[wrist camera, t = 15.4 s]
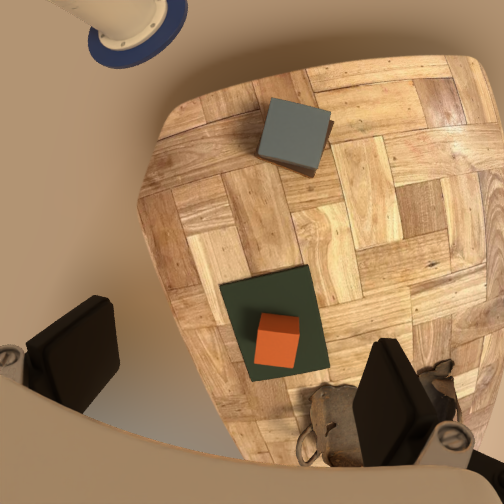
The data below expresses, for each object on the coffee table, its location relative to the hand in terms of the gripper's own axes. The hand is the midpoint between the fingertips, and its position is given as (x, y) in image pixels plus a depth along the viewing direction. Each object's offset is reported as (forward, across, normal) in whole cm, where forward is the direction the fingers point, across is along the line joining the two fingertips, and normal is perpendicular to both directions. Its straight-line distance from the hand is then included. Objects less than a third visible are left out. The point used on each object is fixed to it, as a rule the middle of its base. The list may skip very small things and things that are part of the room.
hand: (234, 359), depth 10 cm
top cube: (+28, -2, +14) cm, 32 cm away
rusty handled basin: (+28, -22, +30) cm, 47 cm away
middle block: (+25, -1, -10) cm, 27 cm away
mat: (+29, -2, +14) cm, 32 cm away
